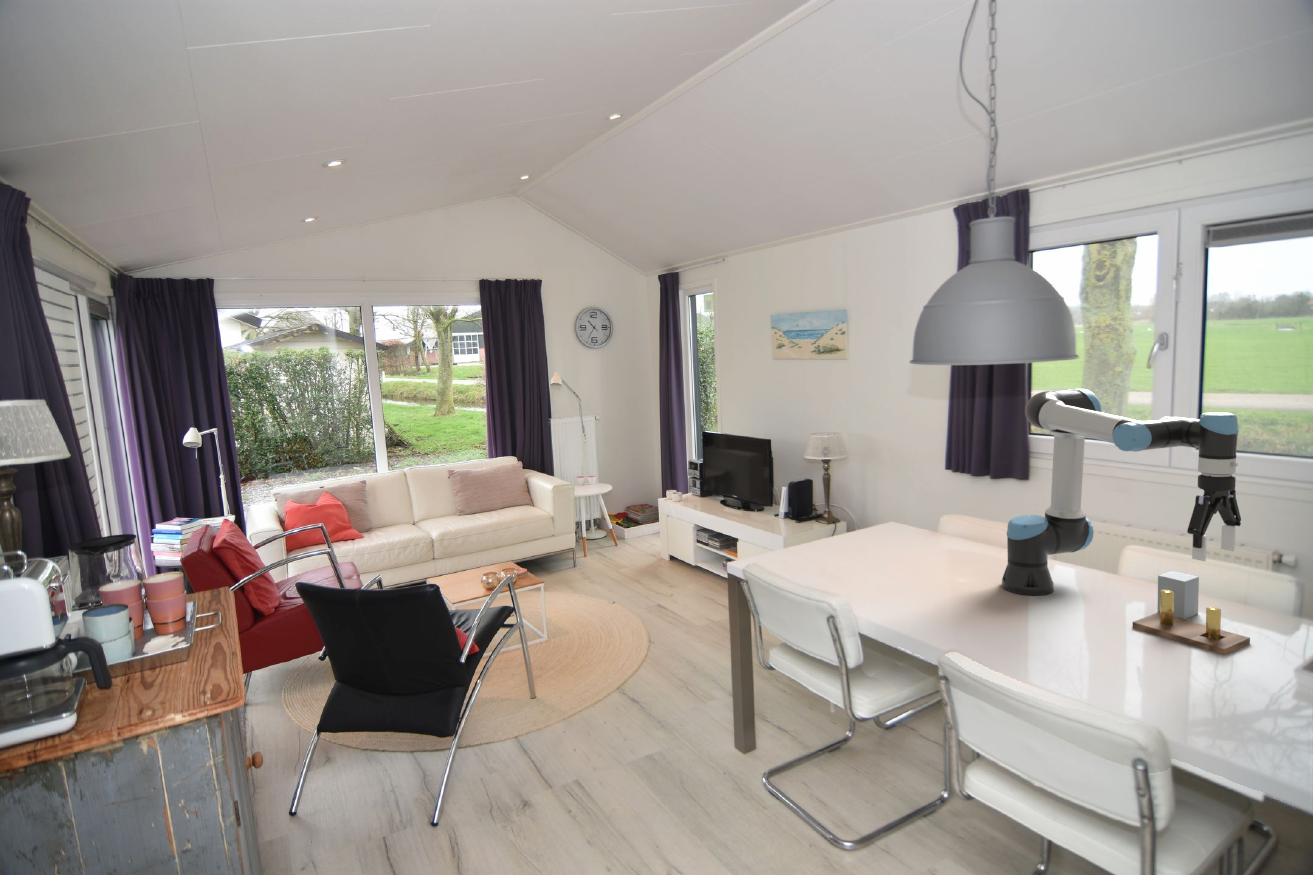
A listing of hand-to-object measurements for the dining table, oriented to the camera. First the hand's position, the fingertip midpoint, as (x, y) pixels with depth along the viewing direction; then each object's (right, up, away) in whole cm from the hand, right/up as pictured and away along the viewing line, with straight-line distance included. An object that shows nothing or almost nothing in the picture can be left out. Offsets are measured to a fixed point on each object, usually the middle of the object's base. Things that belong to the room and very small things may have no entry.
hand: (1213, 554), depth 181 cm
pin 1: (-3, -21, +12) cm, 24 cm away
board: (-1, -23, +7) cm, 24 cm away
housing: (+7, -21, +22) cm, 31 cm away
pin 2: (+2, -23, +2) cm, 23 cm away
